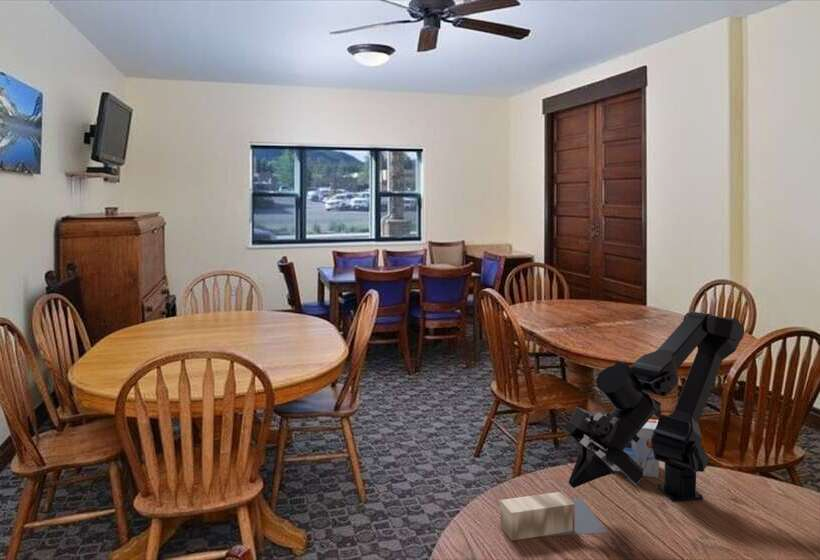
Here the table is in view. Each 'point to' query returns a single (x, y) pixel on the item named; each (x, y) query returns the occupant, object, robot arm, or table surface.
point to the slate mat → (583, 520)
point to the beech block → (537, 515)
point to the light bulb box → (644, 450)
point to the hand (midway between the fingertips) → (570, 485)
